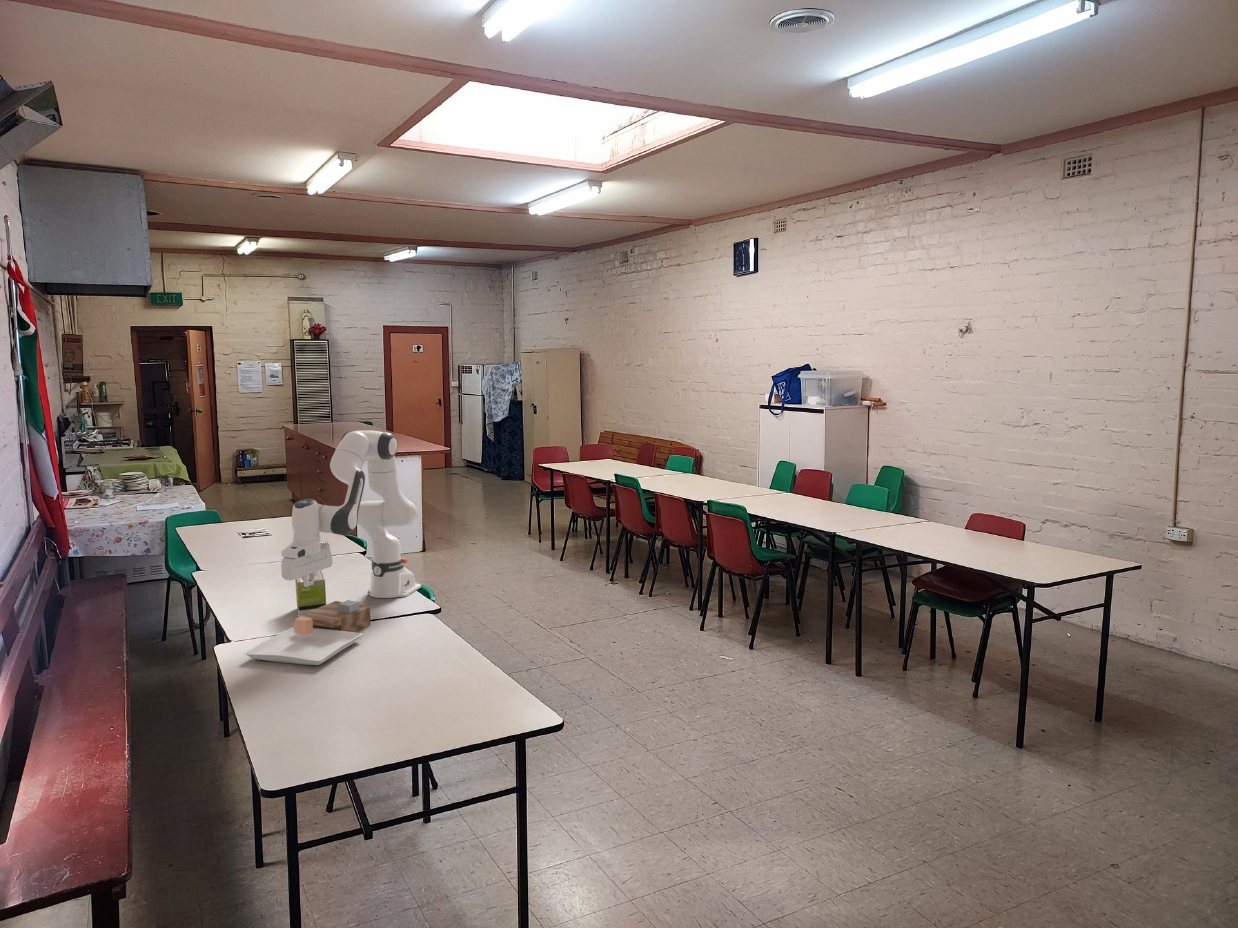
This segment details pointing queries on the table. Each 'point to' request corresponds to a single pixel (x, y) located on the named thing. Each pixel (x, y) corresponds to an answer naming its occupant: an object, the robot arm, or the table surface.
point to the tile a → (303, 625)
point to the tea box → (310, 594)
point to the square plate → (304, 646)
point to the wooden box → (339, 618)
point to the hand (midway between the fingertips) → (308, 585)
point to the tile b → (348, 606)
